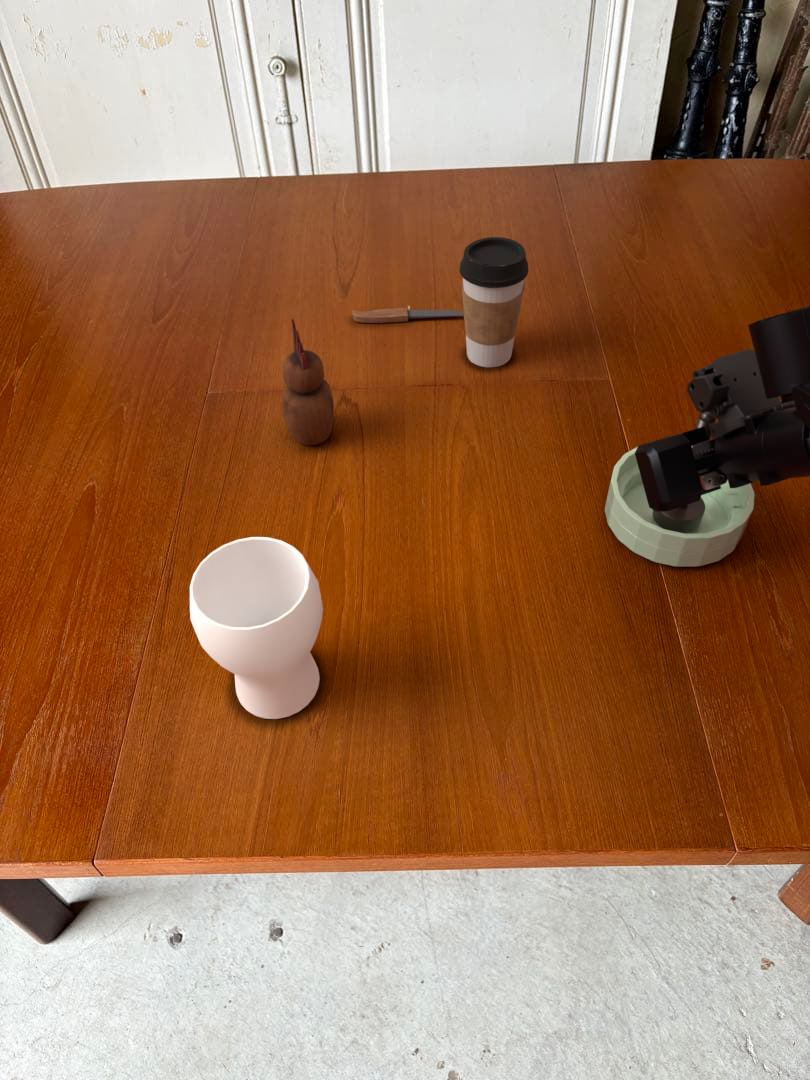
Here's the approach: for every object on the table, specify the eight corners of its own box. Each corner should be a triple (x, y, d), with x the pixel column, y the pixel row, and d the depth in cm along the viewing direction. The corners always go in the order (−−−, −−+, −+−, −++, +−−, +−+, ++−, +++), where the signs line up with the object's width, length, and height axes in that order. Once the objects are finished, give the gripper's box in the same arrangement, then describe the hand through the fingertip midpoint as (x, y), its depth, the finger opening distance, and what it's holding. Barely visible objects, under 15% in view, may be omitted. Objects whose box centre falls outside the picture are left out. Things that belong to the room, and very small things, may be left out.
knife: (469, 300, 115) (471, 312, 113) (469, 306, 116) (471, 318, 114) (352, 306, 115) (352, 318, 113) (352, 313, 115) (352, 325, 113)
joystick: (686, 541, 84) (721, 435, 73) (643, 518, 86) (672, 413, 76) (709, 514, 86) (747, 408, 76) (667, 493, 89) (698, 387, 78)
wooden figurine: (292, 416, 101) (274, 310, 90) (338, 416, 101) (326, 310, 89) (285, 453, 96) (265, 346, 85) (333, 453, 96) (320, 346, 85)
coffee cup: (448, 365, 107) (449, 260, 96) (469, 331, 112) (473, 227, 101) (510, 379, 105) (518, 273, 93) (528, 343, 110) (538, 238, 98)
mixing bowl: (767, 550, 84) (783, 517, 80) (644, 585, 82) (654, 552, 78) (695, 462, 93) (706, 428, 90) (582, 491, 91) (588, 457, 87)
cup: (336, 728, 72) (317, 630, 61) (216, 739, 72) (175, 642, 60) (333, 630, 79) (316, 526, 68) (224, 639, 79) (188, 536, 67)
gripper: (860, 320, 68) (741, 359, 83) (670, 375, 64) (581, 405, 79) (891, 449, 69) (768, 463, 84) (705, 511, 65) (611, 515, 80)
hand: (684, 459), depth 82 cm, fingers closed on joystick
